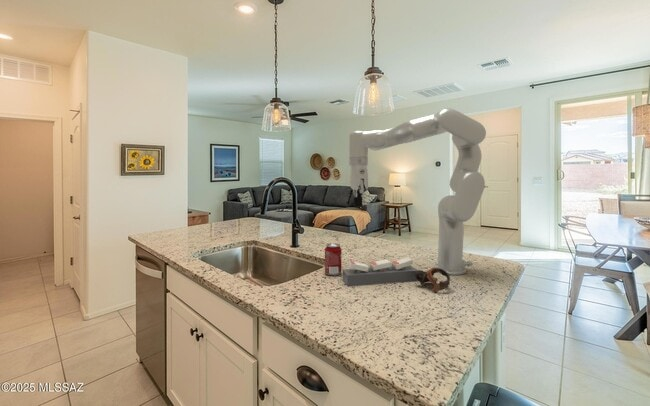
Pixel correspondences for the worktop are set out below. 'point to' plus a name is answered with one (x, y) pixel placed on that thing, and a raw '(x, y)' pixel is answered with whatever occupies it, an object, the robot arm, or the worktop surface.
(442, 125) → the robot arm
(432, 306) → the worktop surface
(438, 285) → the brown looped band
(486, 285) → the worktop surface
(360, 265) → the rocker
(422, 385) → the worktop surface
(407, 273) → the power strip
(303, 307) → the worktop surface
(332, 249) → the soda can
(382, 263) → the rocker
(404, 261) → the rocker
